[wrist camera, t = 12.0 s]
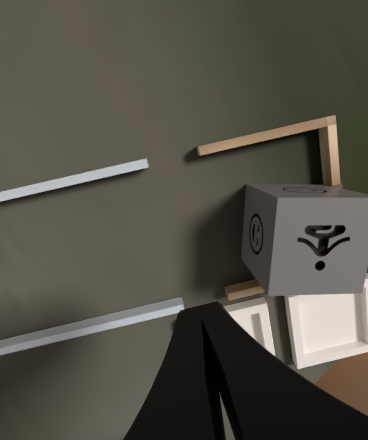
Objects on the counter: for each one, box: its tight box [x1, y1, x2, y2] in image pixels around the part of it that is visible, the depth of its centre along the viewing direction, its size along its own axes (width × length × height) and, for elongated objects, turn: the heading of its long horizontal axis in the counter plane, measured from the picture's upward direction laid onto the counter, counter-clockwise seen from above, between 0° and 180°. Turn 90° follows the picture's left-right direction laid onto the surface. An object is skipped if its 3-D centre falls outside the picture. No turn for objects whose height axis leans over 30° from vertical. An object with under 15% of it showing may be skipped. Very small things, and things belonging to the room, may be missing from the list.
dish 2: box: [284, 273, 368, 369], centre depth 20 cm, size 6×6×1 cm
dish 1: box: [223, 297, 275, 356], centre depth 20 cm, size 6×6×1 cm
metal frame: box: [0, 158, 184, 355], centre depth 17 cm, size 10×14×1 cm
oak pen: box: [196, 115, 342, 300], centre depth 17 cm, size 10×8×1 cm
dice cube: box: [241, 184, 368, 296], centre depth 16 cm, size 5×5×5 cm
